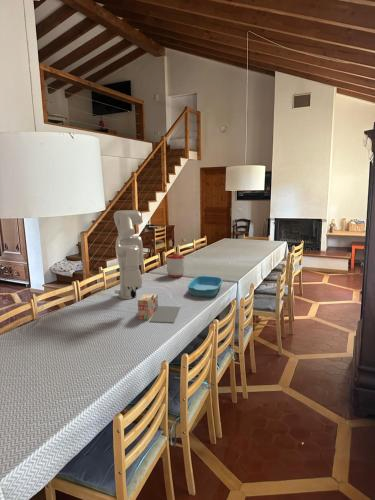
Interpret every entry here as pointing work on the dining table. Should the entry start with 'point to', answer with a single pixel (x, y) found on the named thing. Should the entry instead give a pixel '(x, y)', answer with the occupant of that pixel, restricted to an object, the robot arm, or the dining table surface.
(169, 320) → the mat
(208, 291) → the casserole dish
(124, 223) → the robot arm
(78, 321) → the dining table surface
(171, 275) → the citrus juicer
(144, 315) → the stack of blocks
